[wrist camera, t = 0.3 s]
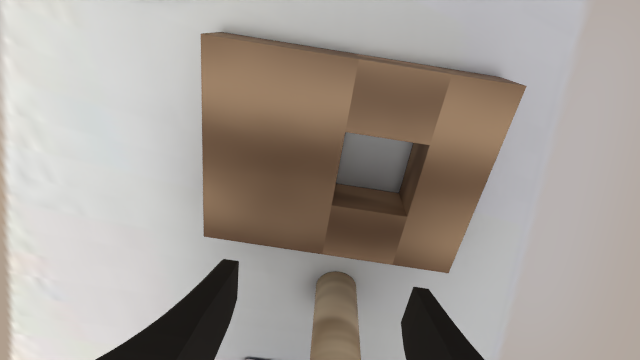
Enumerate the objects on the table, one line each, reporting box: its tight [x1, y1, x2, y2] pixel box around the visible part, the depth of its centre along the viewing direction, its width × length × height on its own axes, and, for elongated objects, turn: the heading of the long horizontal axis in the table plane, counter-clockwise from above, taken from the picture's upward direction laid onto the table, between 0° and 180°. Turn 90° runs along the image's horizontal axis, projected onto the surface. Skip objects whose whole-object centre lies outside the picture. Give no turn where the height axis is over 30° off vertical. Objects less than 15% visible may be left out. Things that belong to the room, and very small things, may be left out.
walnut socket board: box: [201, 32, 526, 273], centre depth 20 cm, size 12×16×3 cm
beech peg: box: [310, 272, 361, 360], centre depth 22 cm, size 3×3×9 cm
